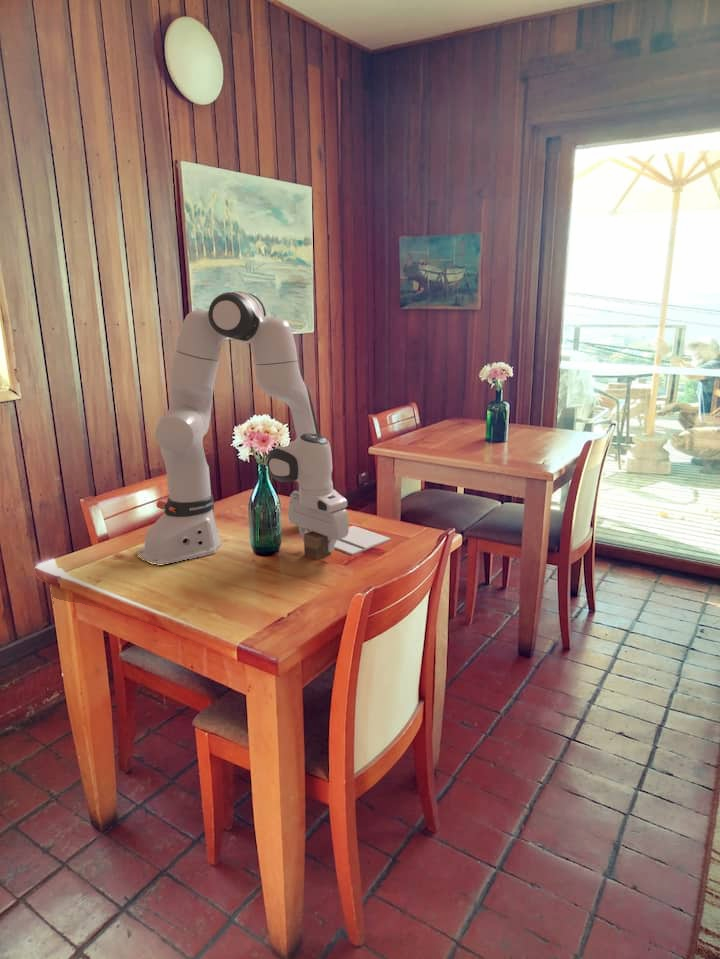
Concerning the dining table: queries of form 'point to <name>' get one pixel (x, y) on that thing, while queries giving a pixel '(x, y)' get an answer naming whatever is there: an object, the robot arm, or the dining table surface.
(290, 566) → the dining table surface
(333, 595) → the dining table surface
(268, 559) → the dining table surface
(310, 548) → the walnut block
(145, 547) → the robot arm
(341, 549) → the board
